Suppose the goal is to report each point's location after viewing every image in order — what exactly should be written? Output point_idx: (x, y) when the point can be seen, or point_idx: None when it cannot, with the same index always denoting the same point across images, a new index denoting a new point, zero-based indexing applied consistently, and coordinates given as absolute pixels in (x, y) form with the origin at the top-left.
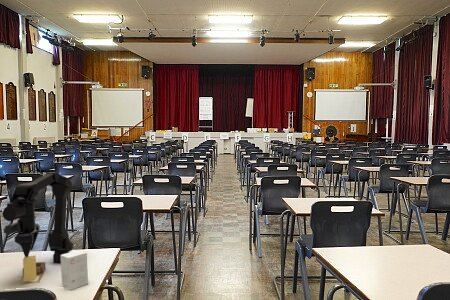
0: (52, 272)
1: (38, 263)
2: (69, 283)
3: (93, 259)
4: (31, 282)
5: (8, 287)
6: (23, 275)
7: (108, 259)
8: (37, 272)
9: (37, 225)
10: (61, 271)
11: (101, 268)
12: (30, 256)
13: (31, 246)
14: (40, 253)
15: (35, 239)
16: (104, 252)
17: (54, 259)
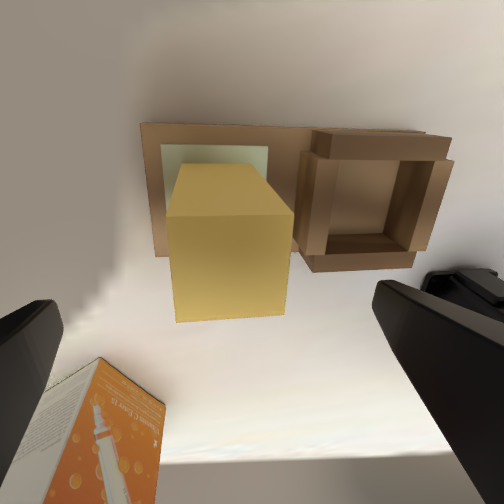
0: (334, 279)
1: (412, 228)
2: None
3: (417, 402)
4: (161, 212)
5: (152, 48)
6: (313, 134)
7: (383, 444)
8: (296, 229)
9: None
10: (66, 435)
11: (289, 442)
12: (268, 275)
13: (401, 335)
14: None
15: (474, 482)
16: None
17: (470, 288)
